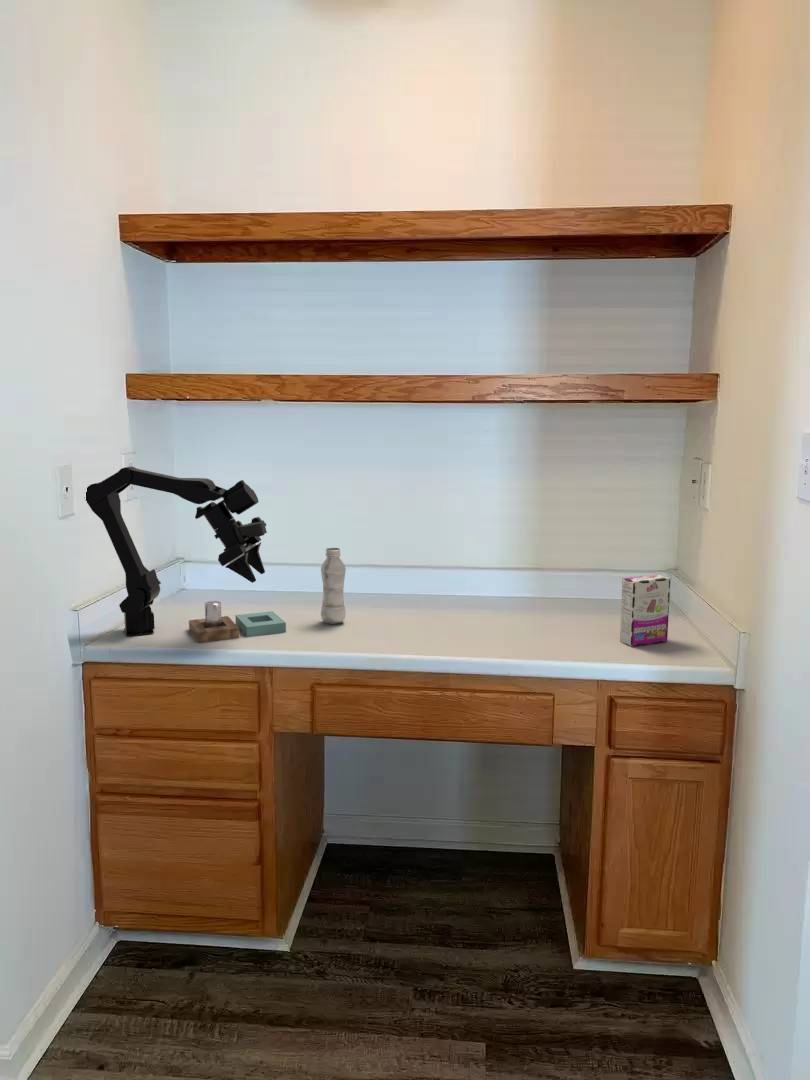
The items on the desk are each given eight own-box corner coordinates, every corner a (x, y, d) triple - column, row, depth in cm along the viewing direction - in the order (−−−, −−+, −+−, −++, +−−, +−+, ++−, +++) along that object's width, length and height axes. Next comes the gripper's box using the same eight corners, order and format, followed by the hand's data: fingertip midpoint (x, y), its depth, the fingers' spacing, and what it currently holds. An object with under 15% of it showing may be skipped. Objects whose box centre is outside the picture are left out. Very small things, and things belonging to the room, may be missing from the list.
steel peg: (207, 636, 196) (206, 605, 195) (204, 632, 200) (203, 602, 198) (223, 634, 198) (222, 604, 196) (220, 630, 201) (219, 600, 200)
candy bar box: (654, 636, 199) (658, 573, 196) (667, 642, 195) (672, 577, 192) (617, 641, 195) (621, 577, 192) (630, 647, 191) (634, 581, 188)
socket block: (198, 642, 191) (198, 632, 191) (189, 629, 202) (188, 620, 201) (239, 637, 196) (239, 628, 195) (228, 625, 206) (227, 616, 206)
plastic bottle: (329, 618, 214) (328, 545, 210) (350, 621, 211) (350, 548, 207) (315, 624, 208) (315, 549, 205) (337, 627, 205) (337, 552, 201)
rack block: (247, 636, 196) (247, 627, 196) (235, 624, 207) (235, 615, 207) (285, 632, 201) (285, 622, 200) (272, 620, 211) (272, 611, 211)
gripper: (240, 513, 183) (277, 569, 185) (260, 502, 201) (293, 553, 203) (202, 537, 185) (238, 592, 187) (224, 524, 203) (258, 575, 205)
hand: (259, 577), depth 195 cm, fingers open, 9 cm apart
